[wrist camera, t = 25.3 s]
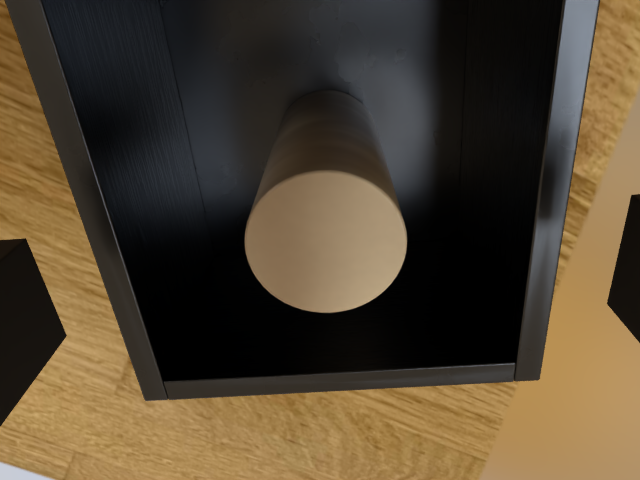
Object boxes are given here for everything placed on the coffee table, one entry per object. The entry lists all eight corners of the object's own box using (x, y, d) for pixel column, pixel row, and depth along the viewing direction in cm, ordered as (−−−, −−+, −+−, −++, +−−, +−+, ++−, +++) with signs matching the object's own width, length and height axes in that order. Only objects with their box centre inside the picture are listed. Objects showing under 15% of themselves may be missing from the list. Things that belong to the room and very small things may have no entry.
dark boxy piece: (469, 245, 23) (540, 381, 15) (204, 263, 24) (144, 402, 16) (490, -107, 17) (629, -178, 9) (128, -67, 17) (-33, -102, 10)
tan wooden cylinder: (374, 85, 19) (407, 163, 11) (378, 182, 21) (407, 309, 13) (271, 94, 19) (231, 177, 11) (284, 189, 21) (256, 318, 13)
